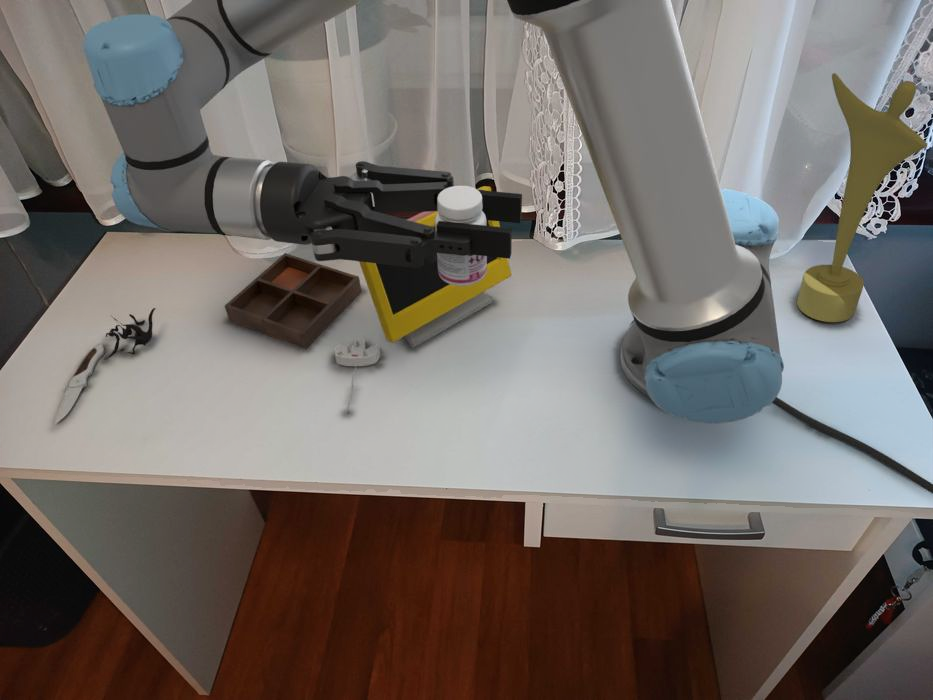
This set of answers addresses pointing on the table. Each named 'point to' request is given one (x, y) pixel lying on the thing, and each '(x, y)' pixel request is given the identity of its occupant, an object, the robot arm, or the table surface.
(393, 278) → the yellow framed monitor
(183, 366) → the table surface
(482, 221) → the pill bottle
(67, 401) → the pocket knife
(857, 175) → the sculpture
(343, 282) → the grid
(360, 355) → the game controller
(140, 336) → the creature
